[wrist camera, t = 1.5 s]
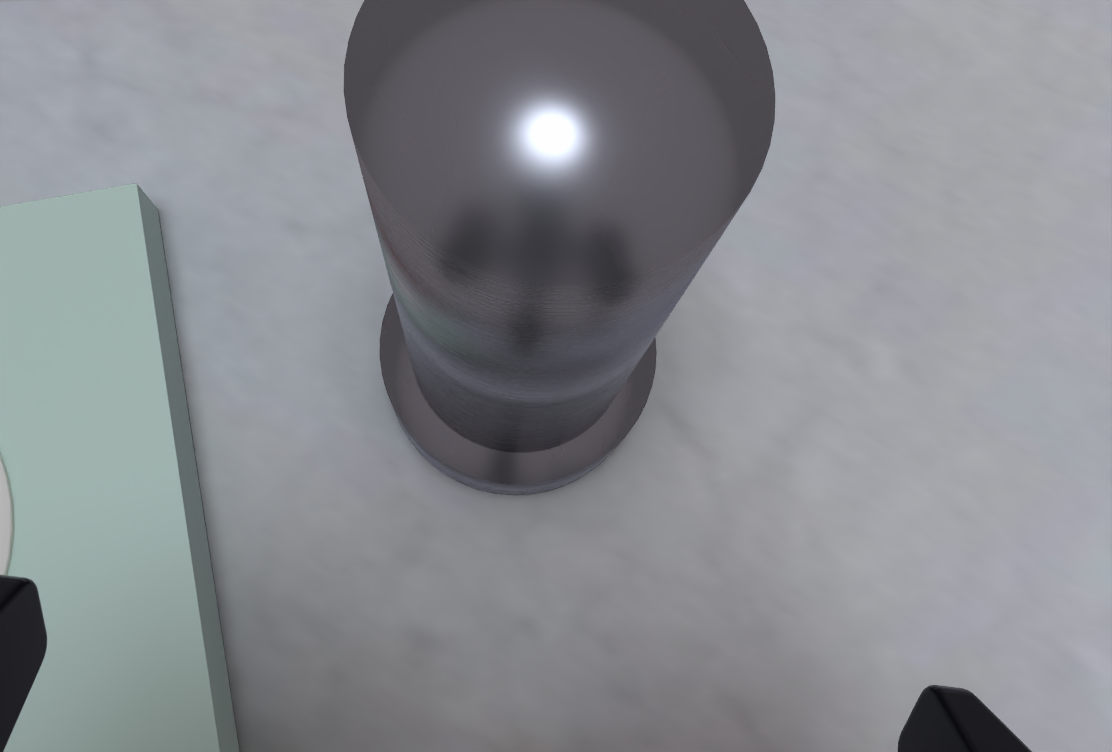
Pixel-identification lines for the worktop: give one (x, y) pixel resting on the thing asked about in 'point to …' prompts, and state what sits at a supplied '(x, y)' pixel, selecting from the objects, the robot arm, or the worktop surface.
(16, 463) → the sage board
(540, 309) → the grey translucent cylinder
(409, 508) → the worktop surface
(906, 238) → the worktop surface
